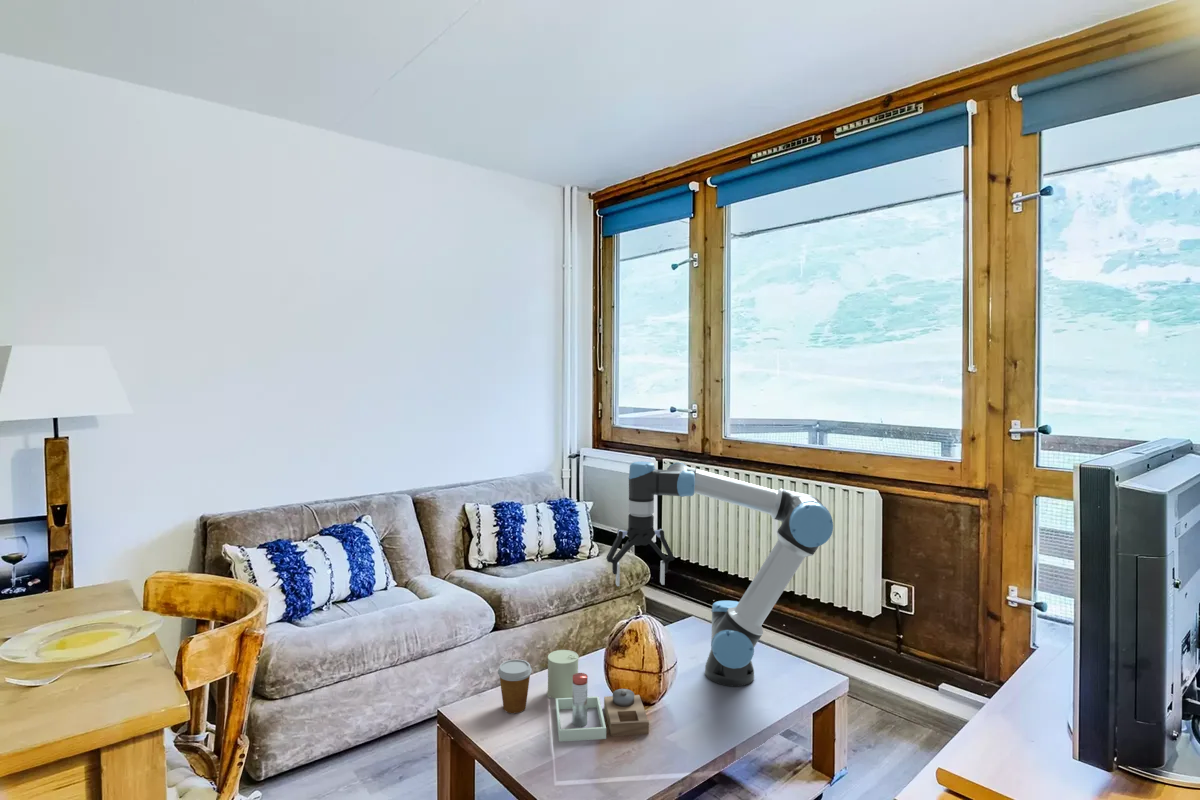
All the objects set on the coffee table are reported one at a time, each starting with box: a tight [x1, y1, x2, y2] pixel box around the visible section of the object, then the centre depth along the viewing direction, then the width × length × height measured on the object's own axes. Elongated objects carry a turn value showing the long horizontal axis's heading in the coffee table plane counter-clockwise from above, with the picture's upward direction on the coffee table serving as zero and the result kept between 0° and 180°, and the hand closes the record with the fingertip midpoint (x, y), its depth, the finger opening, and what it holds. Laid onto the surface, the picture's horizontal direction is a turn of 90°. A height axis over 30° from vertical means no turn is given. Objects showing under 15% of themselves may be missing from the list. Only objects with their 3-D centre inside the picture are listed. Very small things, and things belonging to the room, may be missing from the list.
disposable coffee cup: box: [497, 658, 533, 714], centre depth 182 cm, size 10×10×12 cm
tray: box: [555, 695, 607, 742], centre depth 174 cm, size 16×12×4 cm
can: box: [546, 649, 580, 700], centre depth 190 cm, size 9×9×12 cm
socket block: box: [603, 688, 650, 737], centre depth 175 cm, size 14×10×7 cm
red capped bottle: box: [571, 672, 589, 728], centre depth 174 cm, size 4×4×13 cm
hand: (640, 584), depth 193 cm, fingers open, 13 cm apart
